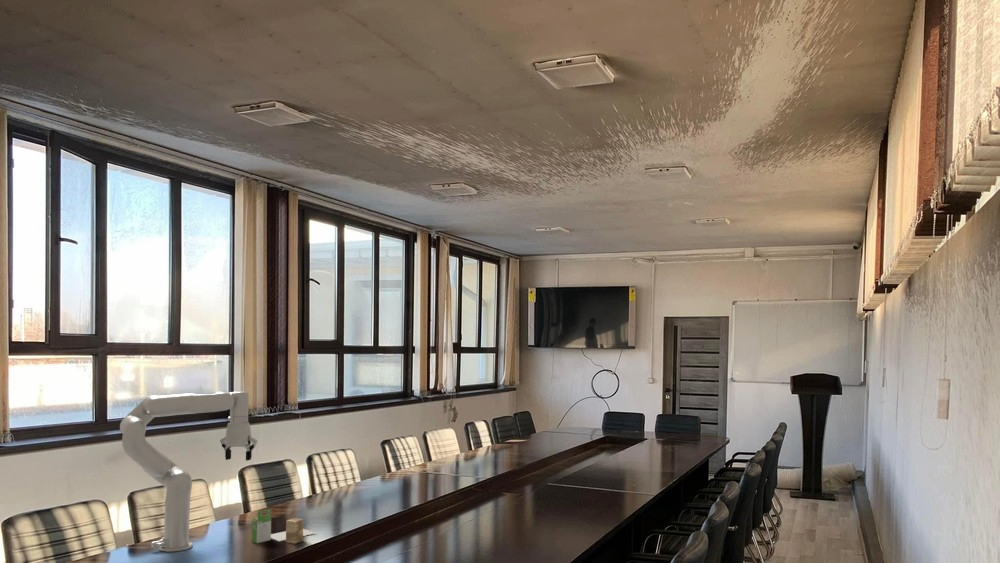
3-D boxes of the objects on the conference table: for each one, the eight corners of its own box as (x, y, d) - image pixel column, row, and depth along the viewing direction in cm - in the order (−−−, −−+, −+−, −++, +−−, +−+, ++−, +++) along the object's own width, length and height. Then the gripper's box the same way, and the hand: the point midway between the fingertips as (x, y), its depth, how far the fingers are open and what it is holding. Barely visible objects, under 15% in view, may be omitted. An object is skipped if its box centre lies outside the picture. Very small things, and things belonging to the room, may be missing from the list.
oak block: (294, 543, 316) (295, 521, 317) (285, 542, 318) (286, 520, 319) (303, 540, 320) (303, 519, 321) (294, 539, 323) (294, 518, 323)
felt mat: (279, 541, 319) (279, 540, 319) (265, 536, 327) (265, 535, 327) (315, 534, 331) (316, 533, 331) (301, 529, 340) (301, 528, 340)
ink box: (265, 538, 323) (266, 507, 324) (271, 540, 321) (271, 508, 322) (251, 542, 318) (252, 510, 319) (256, 543, 315) (257, 511, 316)
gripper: (216, 420, 324) (215, 460, 323) (252, 421, 321) (251, 461, 319) (226, 418, 331) (225, 457, 330) (261, 419, 328) (260, 458, 327)
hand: (238, 459), depth 325 cm, fingers open, 9 cm apart
